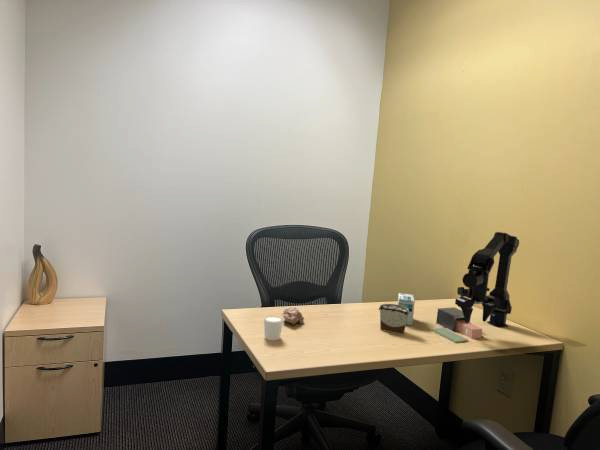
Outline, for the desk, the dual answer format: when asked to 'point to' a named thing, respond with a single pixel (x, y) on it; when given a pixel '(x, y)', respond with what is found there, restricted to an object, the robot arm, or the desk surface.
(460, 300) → the robot arm
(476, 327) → the pink block
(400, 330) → the food container
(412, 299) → the light bulb box
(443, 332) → the green block
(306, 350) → the desk surface
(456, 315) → the dispenser
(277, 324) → the white cylinder
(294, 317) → the mineral specimen
